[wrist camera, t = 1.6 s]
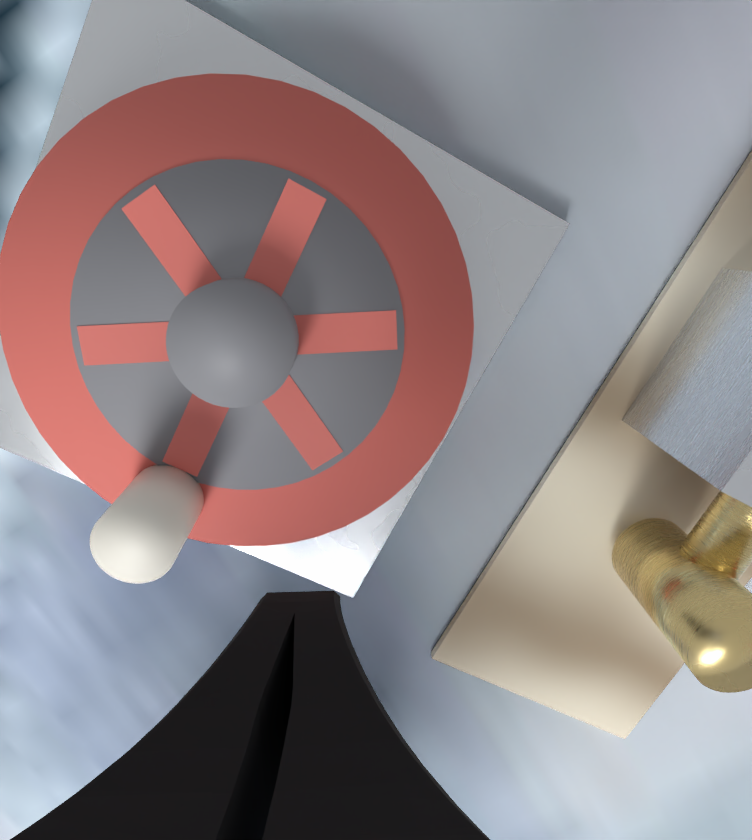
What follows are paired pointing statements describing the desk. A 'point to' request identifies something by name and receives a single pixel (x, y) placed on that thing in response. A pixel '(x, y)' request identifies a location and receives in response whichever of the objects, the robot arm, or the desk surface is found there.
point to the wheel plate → (447, 175)
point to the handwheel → (232, 316)
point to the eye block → (707, 390)
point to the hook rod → (696, 588)
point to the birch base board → (598, 529)
